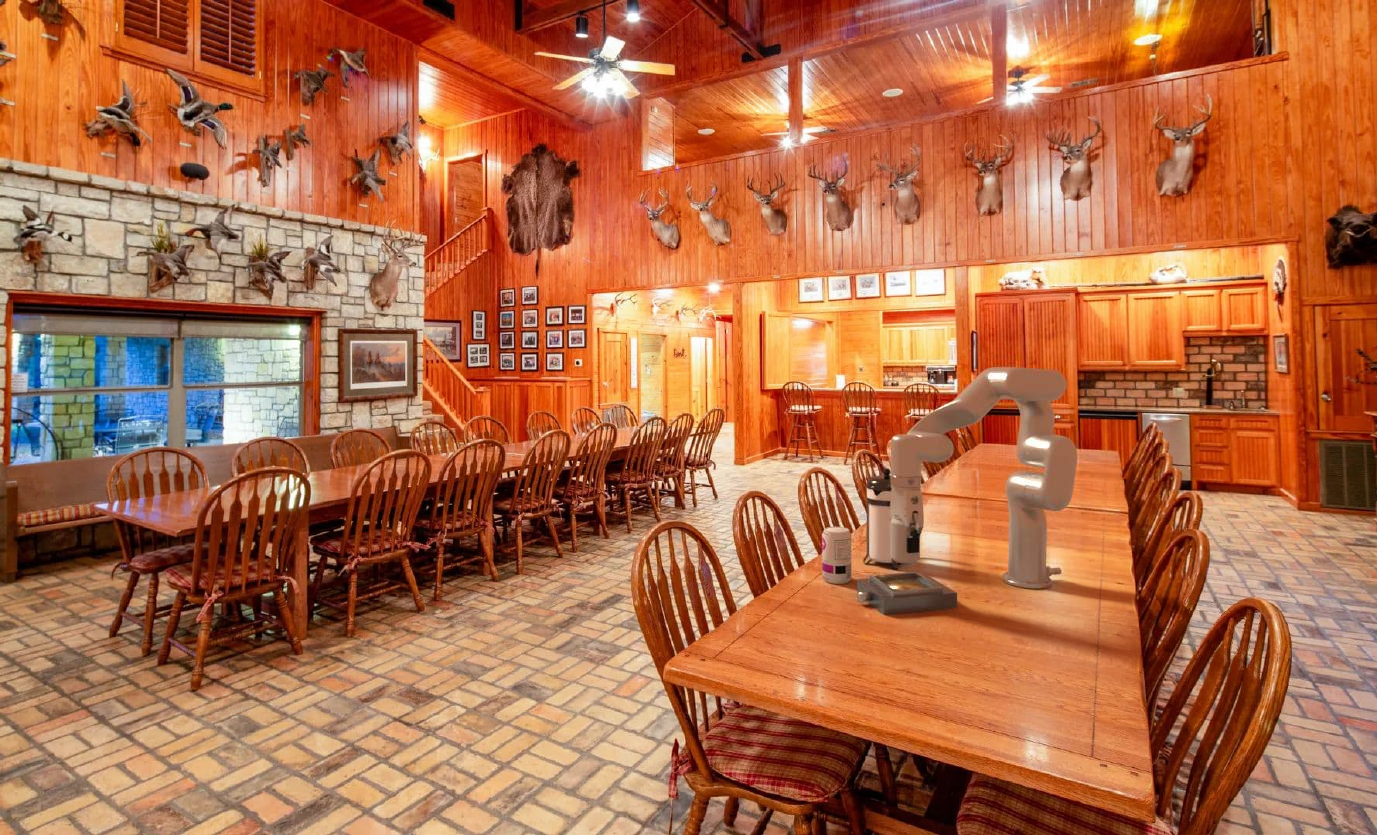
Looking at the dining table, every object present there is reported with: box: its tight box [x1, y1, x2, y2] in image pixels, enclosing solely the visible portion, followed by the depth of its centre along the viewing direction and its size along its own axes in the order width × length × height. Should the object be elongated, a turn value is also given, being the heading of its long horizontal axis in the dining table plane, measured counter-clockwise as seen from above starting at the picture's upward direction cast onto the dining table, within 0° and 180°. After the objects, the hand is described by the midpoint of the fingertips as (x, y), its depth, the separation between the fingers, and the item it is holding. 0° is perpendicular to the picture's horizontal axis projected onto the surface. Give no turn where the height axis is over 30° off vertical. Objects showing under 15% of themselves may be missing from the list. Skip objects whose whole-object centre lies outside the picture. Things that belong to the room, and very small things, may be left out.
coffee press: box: [862, 467, 899, 570], centre depth 211 cm, size 17×16×30 cm
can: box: [890, 515, 921, 564], centre depth 177 cm, size 8×8×12 cm
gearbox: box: [856, 571, 958, 616], centre depth 178 cm, size 23×16×5 cm
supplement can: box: [821, 526, 852, 585], centre depth 195 cm, size 8×8×15 cm
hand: (905, 547), depth 177 cm, fingers closed on can, 7 cm apart
